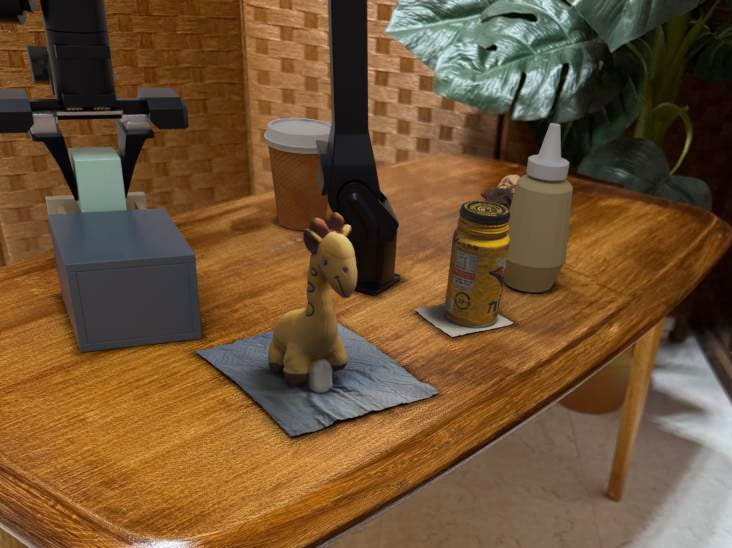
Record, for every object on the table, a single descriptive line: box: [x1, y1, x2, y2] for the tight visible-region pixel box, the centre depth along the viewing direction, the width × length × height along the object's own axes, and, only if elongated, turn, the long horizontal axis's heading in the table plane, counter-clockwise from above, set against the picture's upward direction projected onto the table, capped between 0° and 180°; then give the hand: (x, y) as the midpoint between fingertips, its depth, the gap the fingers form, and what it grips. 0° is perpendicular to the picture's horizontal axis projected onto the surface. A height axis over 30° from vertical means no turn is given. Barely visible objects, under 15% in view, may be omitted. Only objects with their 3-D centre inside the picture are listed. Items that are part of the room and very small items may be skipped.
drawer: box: [44, 191, 148, 216], centre depth 93 cm, size 17×10×7 cm, turn 24°
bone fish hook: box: [480, 174, 521, 210], centre depth 123 cm, size 9×5×18 cm
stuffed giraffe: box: [195, 212, 439, 437], centre depth 77 cm, size 16×18×16 cm
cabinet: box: [47, 207, 202, 353], centre depth 85 cm, size 14×12×9 cm
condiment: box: [414, 200, 514, 338], centre depth 90 cm, size 7×8×12 cm
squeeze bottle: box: [503, 122, 574, 293], centre depth 97 cm, size 8×8×18 cm
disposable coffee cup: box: [263, 117, 331, 231], centre depth 110 cm, size 10×10×12 cm
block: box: [67, 146, 127, 213], centre depth 88 cm, size 4×4×6 cm
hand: (100, 198), depth 90 cm, fingers closed on block, 4 cm apart
